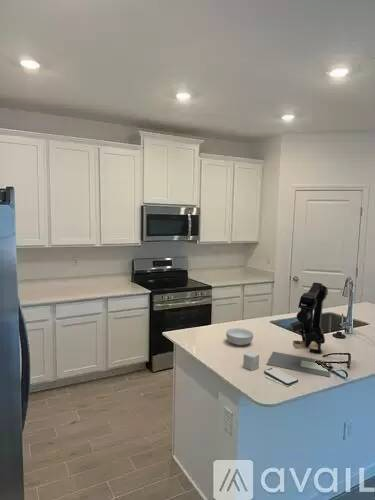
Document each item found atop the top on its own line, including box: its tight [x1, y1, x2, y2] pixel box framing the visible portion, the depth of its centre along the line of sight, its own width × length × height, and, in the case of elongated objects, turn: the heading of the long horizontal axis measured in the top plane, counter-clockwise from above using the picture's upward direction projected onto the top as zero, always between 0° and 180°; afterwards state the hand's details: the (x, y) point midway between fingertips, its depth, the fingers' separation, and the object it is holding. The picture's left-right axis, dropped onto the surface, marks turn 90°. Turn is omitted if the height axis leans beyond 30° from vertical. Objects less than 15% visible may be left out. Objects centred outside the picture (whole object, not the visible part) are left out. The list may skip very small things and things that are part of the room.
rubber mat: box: [266, 351, 332, 378], centre depth 188 cm, size 19×32×1 cm, turn 66°
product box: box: [242, 351, 260, 371], centre depth 182 cm, size 6×6×7 cm
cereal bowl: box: [225, 327, 254, 346], centre depth 216 cm, size 17×17×7 cm
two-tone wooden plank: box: [292, 340, 318, 350], centre depth 186 cm, size 12×5×3 cm, turn 88°
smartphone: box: [263, 366, 299, 387], centre depth 172 cm, size 9×2×16 cm
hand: (305, 345), depth 186 cm, fingers closed on two-tone wooden plank, 5 cm apart
